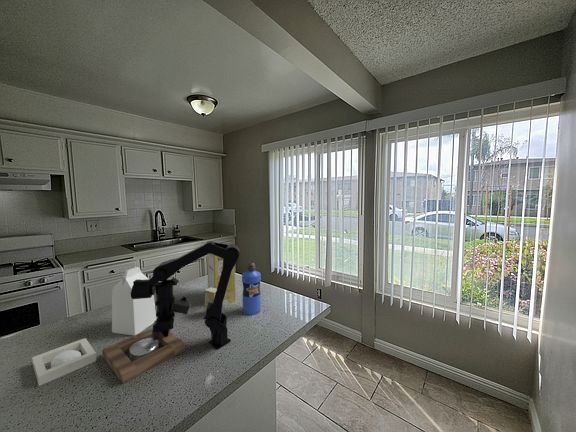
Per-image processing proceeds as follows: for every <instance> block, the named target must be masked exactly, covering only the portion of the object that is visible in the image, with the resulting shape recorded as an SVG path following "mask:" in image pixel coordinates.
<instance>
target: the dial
mask: <svg viewBox="0 0 576 432" xmlns="http://www.w3.org/2000/svg"><path fill="white" fill-rule="evenodd" d="M170 332H171V329H170V330H169V333H168V335H169V334H170ZM162 337H164V335H163V334H162V332H161V331H160V332H153V329H152V338H146V339H142V340H140V341H138V342H136V343H134V344H133V345H132V346H131V347H130V351H129V359H130V360H131V361H132V362H133V361H135V360H137V359H139V358H141V357H143V356H145V355H147V354H150V353H152V352H154V351H156V350H158V349H160V346H159V345H160V344H159V343H158V339H160V338H162Z"/></svg>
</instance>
